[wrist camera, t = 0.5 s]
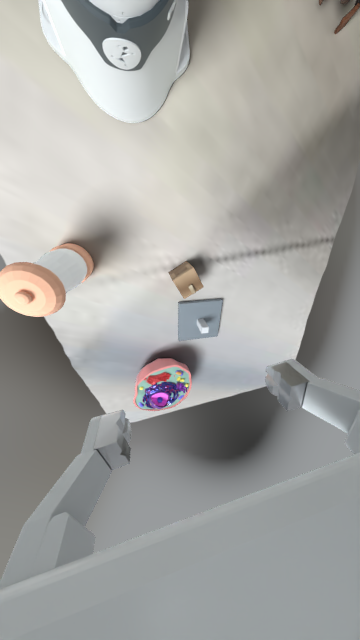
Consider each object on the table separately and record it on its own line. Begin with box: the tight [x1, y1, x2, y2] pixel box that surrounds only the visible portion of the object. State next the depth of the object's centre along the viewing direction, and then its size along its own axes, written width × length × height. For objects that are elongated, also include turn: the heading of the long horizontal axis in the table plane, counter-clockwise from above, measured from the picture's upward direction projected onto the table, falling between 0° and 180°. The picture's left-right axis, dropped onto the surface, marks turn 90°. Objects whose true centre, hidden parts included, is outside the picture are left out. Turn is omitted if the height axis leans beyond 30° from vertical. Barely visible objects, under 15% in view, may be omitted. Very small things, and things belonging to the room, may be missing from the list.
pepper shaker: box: [0, 243, 94, 317], centre depth 27 cm, size 7×7×19 cm
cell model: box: [133, 358, 192, 411], centre depth 52 cm, size 17×20×11 cm
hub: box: [178, 299, 223, 341], centre depth 47 cm, size 12×12×6 cm
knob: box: [168, 261, 203, 299], centre depth 39 cm, size 5×5×7 cm
